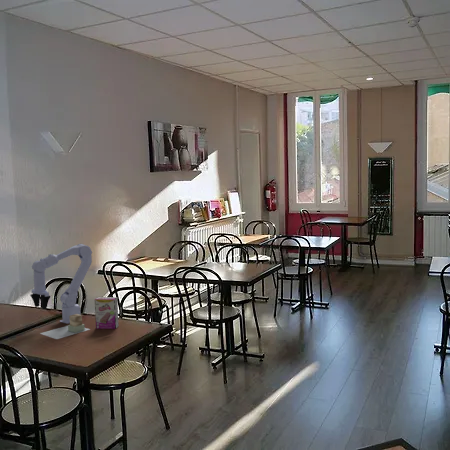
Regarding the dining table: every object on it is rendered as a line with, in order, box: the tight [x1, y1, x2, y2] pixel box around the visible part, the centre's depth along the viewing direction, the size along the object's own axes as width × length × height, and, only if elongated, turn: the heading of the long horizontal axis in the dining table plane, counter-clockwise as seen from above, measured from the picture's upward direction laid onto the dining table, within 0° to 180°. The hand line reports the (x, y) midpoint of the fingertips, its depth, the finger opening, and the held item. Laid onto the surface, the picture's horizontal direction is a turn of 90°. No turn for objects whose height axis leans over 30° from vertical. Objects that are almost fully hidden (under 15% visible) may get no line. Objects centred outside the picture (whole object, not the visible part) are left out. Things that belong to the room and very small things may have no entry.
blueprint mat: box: [39, 325, 91, 340], centre depth 274 cm, size 20×16×1 cm
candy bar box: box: [94, 296, 119, 330], centre depth 279 cm, size 11×5×16 cm, turn 84°
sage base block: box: [67, 323, 86, 333], centre depth 275 cm, size 6×6×3 cm
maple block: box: [69, 314, 83, 327], centre depth 275 cm, size 4×4×5 cm
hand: (40, 307), depth 285 cm, fingers open, 7 cm apart
